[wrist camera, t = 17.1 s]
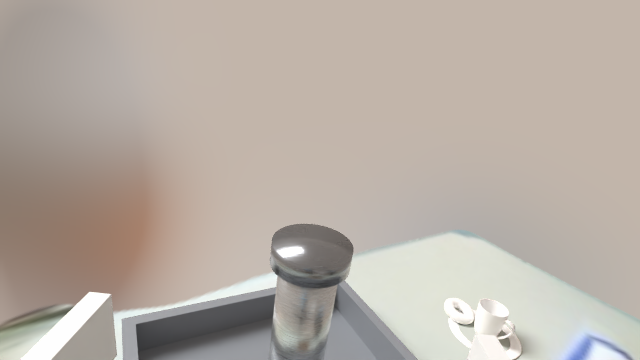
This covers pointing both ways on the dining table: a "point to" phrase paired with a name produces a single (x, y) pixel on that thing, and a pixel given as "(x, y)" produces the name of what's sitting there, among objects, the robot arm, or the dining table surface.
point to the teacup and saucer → (483, 322)
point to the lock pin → (306, 288)
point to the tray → (254, 331)
